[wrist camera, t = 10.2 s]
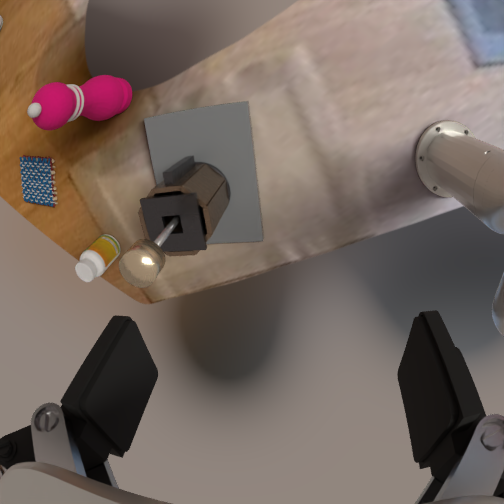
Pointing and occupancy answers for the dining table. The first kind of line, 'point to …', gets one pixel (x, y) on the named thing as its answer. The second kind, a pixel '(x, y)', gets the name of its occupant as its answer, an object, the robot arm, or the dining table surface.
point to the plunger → (147, 256)
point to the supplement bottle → (97, 258)
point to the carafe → (186, 206)
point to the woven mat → (38, 180)
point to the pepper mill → (79, 101)
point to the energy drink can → (1, 22)
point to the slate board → (214, 160)
